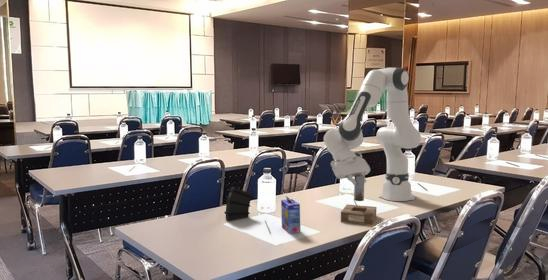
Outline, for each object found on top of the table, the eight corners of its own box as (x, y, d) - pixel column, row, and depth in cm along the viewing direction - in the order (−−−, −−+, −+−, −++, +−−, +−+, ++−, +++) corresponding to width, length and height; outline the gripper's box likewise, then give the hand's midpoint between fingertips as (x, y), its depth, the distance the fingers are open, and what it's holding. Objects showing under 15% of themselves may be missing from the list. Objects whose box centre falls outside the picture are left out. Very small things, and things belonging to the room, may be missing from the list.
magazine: (218, 216, 208) (230, 186, 210) (241, 224, 215) (253, 194, 217) (222, 218, 205) (234, 187, 207) (245, 226, 212) (257, 196, 213)
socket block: (346, 213, 218) (346, 204, 217) (376, 216, 213) (376, 206, 212) (340, 221, 204) (340, 212, 204) (372, 224, 199) (372, 215, 199)
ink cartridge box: (280, 226, 198) (280, 194, 196) (292, 225, 199) (292, 193, 198) (288, 233, 188) (288, 199, 187) (300, 232, 190) (300, 198, 188)
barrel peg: (354, 198, 210) (355, 175, 209) (364, 199, 209) (365, 175, 208) (353, 200, 206) (353, 176, 205) (363, 201, 205) (363, 177, 203)
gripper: (332, 157, 204) (348, 181, 198) (363, 153, 217) (378, 176, 210) (325, 165, 209) (340, 190, 202) (356, 161, 221) (371, 184, 214)
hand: (360, 183), depth 206 cm, fingers closed on barrel peg, 4 cm apart
